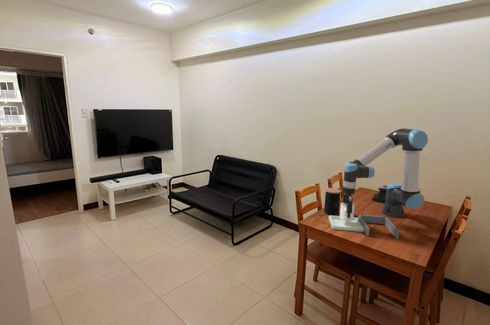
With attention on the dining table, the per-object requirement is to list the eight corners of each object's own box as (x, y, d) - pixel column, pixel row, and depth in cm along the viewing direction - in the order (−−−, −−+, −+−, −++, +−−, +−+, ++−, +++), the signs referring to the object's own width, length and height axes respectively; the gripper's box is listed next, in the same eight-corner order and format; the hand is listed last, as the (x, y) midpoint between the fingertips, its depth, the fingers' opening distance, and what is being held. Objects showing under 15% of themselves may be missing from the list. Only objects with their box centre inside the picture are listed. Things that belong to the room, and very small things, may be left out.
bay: (385, 223, 181) (386, 216, 180) (398, 238, 159) (399, 231, 158) (357, 221, 183) (358, 214, 182) (366, 236, 162) (367, 228, 161)
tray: (356, 220, 184) (357, 217, 183) (363, 232, 167) (364, 228, 167) (328, 218, 187) (328, 215, 186) (332, 229, 170) (332, 225, 170)
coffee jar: (336, 217, 190) (339, 193, 187) (322, 213, 196) (324, 190, 192) (340, 212, 199) (342, 189, 195) (326, 209, 205) (327, 187, 201)
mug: (336, 221, 173) (338, 206, 171) (341, 215, 183) (342, 201, 181) (350, 224, 169) (351, 209, 166) (354, 218, 178) (356, 203, 176)
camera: (373, 186, 221) (377, 181, 232) (371, 202, 225) (376, 196, 236) (394, 190, 211) (397, 184, 223) (392, 206, 215) (395, 200, 227)
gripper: (339, 181, 183) (336, 211, 188) (346, 192, 161) (343, 225, 165) (350, 182, 182) (347, 212, 187) (359, 192, 160) (356, 226, 164)
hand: (345, 218), depth 176 cm, fingers closed on mug, 11 cm apart
